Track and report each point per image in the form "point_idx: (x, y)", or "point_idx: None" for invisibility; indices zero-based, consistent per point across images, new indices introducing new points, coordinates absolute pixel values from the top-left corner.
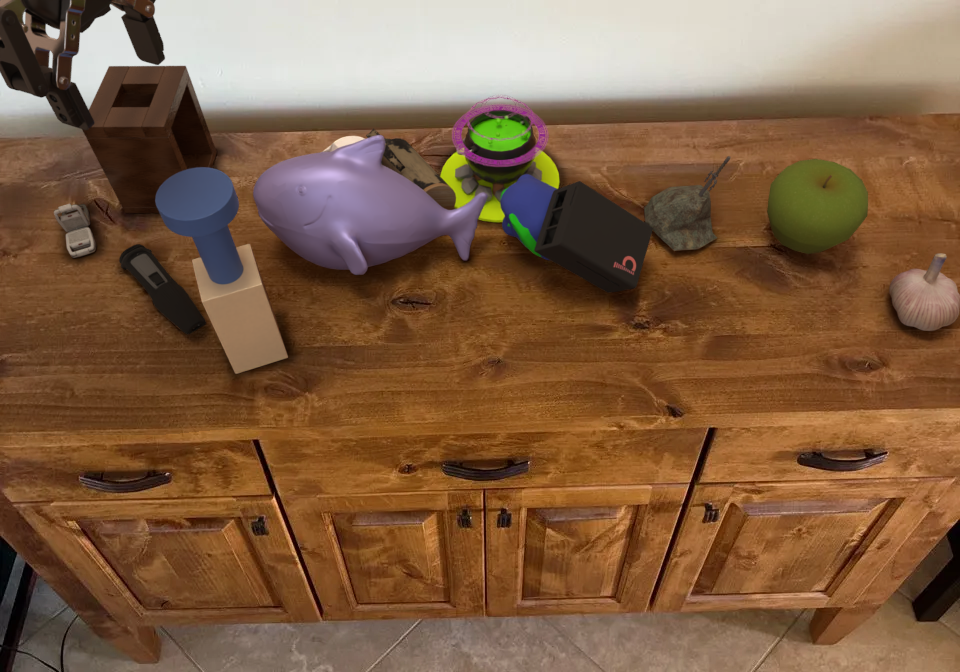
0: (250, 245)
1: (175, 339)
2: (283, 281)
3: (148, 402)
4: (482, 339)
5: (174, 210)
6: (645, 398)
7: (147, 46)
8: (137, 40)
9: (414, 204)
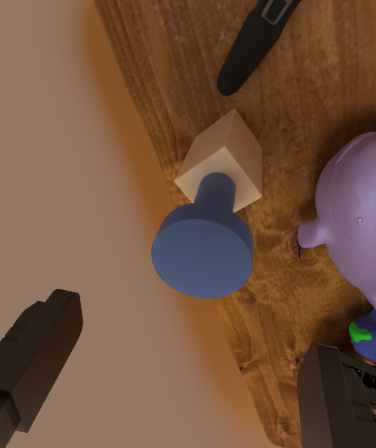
0: (260, 197)
1: (217, 58)
2: (311, 136)
3: (145, 72)
4: (270, 290)
5: (163, 252)
6: (245, 360)
7: (307, 409)
8: (316, 407)
9: (367, 290)
